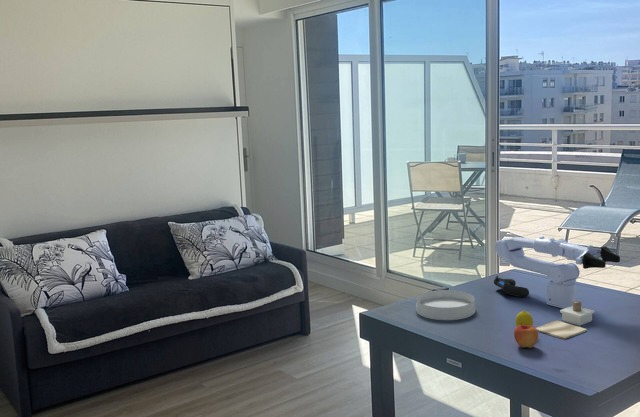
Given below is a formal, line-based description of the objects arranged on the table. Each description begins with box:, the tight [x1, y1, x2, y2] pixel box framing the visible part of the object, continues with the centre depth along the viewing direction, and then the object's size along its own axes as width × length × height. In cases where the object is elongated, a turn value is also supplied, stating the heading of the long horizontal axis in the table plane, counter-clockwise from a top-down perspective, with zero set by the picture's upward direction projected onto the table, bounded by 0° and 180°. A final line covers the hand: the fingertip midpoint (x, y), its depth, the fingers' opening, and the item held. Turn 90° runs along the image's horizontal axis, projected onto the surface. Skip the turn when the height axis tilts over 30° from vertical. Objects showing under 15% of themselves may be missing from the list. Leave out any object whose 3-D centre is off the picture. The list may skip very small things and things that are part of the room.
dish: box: [415, 289, 476, 321], centre depth 243 cm, size 22×22×5 cm
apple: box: [513, 323, 539, 349], centre depth 204 cm, size 7×7×8 cm
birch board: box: [535, 320, 588, 341], centre depth 217 cm, size 12×12×1 cm
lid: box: [559, 300, 595, 318], centre depth 224 cm, size 8×8×5 cm
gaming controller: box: [493, 275, 530, 298], centre depth 260 cm, size 17×6×10 cm
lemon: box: [515, 310, 534, 328], centre depth 215 cm, size 6×6×8 cm
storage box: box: [561, 313, 593, 327], centre depth 224 cm, size 7×7×3 cm
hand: (612, 262), depth 221 cm, fingers open, 7 cm apart
